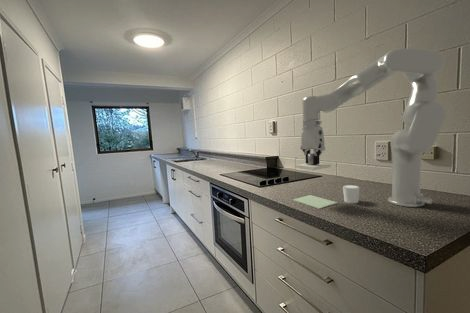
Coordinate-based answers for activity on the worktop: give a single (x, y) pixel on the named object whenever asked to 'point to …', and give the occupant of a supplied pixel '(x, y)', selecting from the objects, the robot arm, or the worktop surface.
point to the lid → (311, 165)
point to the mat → (315, 201)
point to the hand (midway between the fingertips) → (312, 163)
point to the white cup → (351, 193)
